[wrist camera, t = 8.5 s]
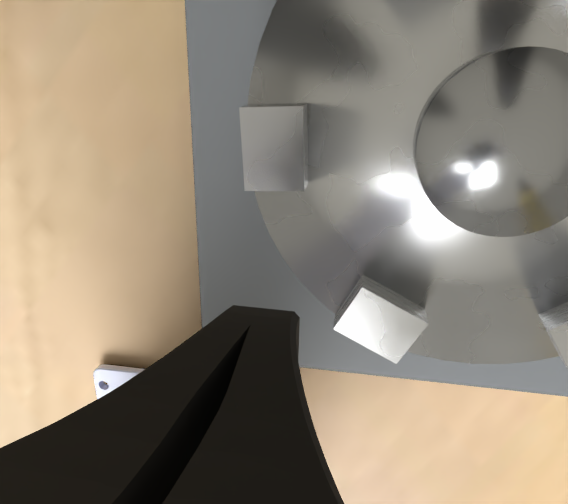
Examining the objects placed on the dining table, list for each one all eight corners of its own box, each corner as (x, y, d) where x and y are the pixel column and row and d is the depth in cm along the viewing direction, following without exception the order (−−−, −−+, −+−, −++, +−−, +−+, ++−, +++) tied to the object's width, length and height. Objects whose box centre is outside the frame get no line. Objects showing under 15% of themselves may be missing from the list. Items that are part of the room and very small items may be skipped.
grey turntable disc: (681, 344, 17) (863, 508, 11) (268, 323, 19) (224, 448, 13) (854, -190, 12) (1432, -481, 5) (245, -130, 14) (148, -283, 8)
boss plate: (689, 387, 19) (717, 415, 18) (213, 338, 22) (202, 359, 21) (965, -272, 12) (1056, -321, 10) (189, -226, 15) (169, -259, 13)
